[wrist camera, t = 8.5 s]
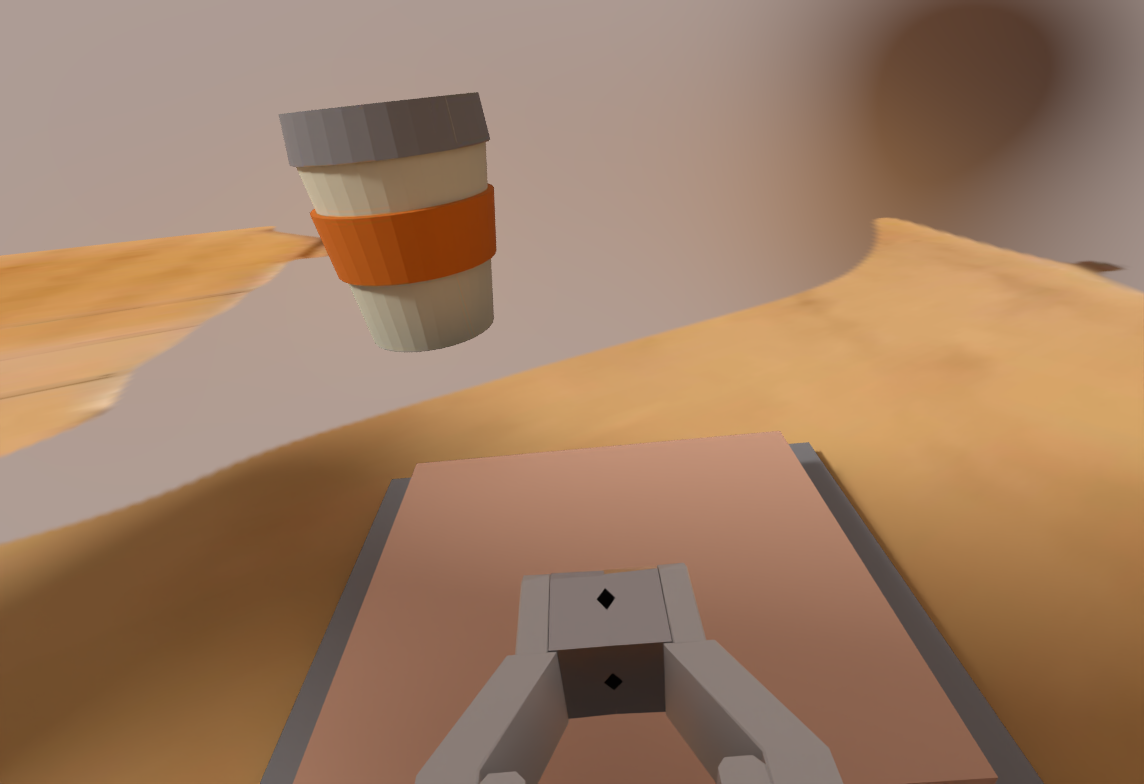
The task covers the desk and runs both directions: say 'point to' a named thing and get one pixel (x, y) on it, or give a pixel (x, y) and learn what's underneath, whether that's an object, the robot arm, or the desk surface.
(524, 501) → the tile
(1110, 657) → the desk surface
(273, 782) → the mat
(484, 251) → the reusable coffee cup
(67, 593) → the desk surface
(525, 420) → the desk surface
